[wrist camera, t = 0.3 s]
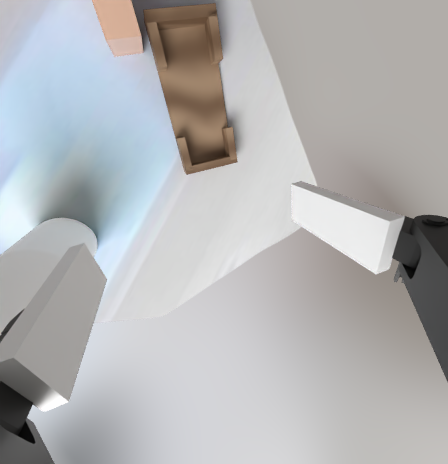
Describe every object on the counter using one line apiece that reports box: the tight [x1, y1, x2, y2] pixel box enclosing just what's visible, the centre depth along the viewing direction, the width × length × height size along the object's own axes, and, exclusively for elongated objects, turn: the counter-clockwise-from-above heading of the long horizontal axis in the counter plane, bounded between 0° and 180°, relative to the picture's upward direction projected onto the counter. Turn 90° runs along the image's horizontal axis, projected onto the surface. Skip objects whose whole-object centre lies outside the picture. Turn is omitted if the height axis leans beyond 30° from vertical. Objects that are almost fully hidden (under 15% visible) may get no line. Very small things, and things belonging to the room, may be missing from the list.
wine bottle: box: [0, 218, 98, 335], centre depth 23 cm, size 10×10×30 cm
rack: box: [143, 3, 237, 175], centre depth 32 cm, size 20×9×3 cm, turn 10°
